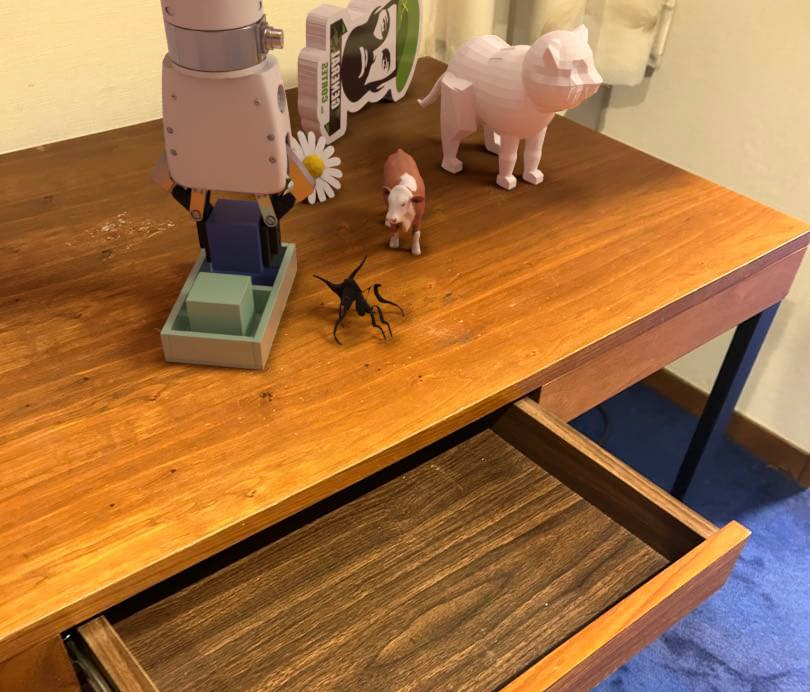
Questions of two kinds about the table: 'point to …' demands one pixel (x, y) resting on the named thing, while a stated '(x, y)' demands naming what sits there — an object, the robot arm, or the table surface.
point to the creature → (357, 299)
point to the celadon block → (221, 304)
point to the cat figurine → (512, 95)
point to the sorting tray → (230, 348)
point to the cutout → (355, 60)
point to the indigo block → (235, 236)
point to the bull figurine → (403, 197)
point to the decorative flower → (317, 165)
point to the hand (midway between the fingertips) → (242, 255)
